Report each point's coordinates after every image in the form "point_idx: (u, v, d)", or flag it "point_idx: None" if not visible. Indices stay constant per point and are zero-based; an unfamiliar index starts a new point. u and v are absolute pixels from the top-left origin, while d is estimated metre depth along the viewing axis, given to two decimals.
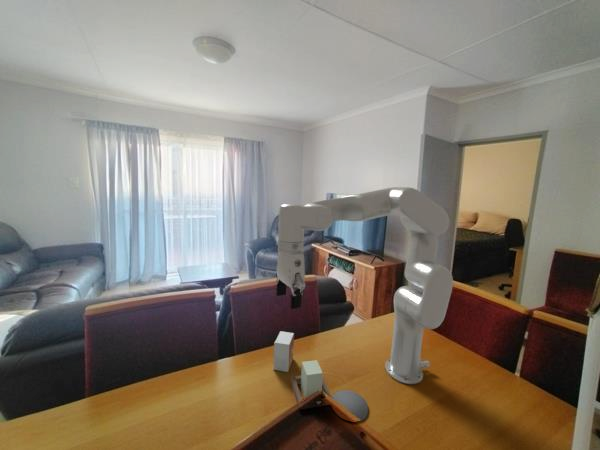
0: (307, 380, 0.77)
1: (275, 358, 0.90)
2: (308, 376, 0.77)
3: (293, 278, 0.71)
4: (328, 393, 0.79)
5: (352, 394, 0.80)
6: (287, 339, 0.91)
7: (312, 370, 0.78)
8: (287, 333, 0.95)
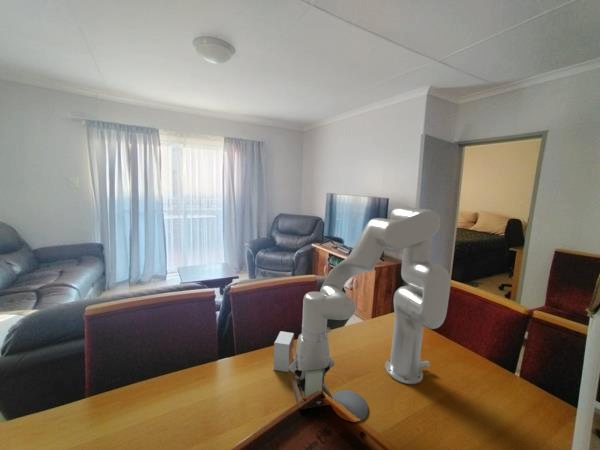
0: (307, 380, 0.77)
1: (275, 358, 0.90)
2: (308, 376, 0.77)
3: None
4: (328, 393, 0.79)
5: (352, 394, 0.80)
6: (287, 339, 0.91)
7: (312, 370, 0.78)
8: (287, 333, 0.95)
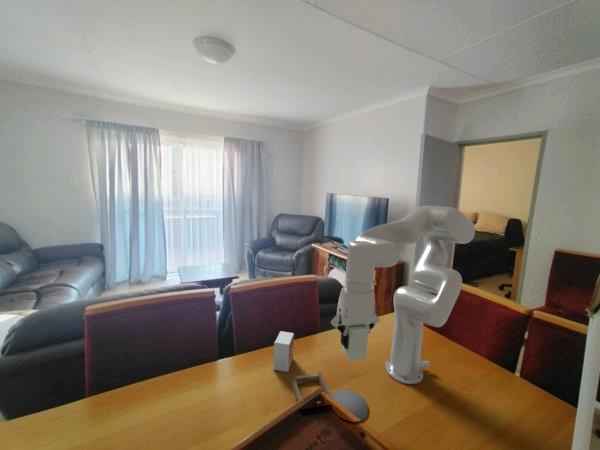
0: (352, 336, 0.70)
1: (275, 358, 0.90)
2: (353, 331, 0.70)
3: None
4: (328, 393, 0.79)
5: (352, 394, 0.80)
6: (287, 339, 0.91)
7: (356, 326, 0.72)
8: (287, 333, 0.95)
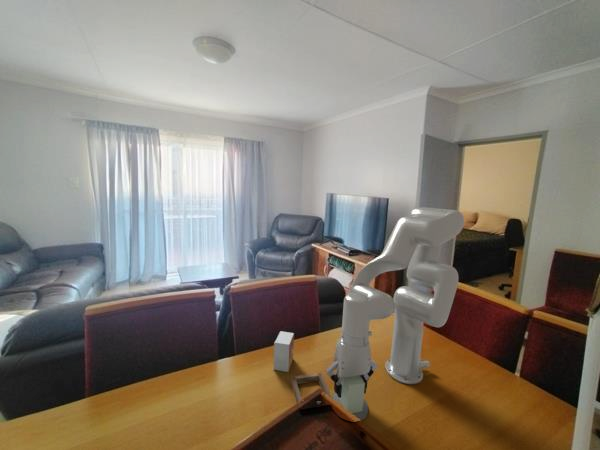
0: (349, 391, 0.72)
1: (275, 358, 0.90)
2: (350, 387, 0.72)
3: None
4: (328, 393, 0.79)
5: None
6: (287, 339, 0.91)
7: (353, 380, 0.74)
8: (287, 333, 0.95)
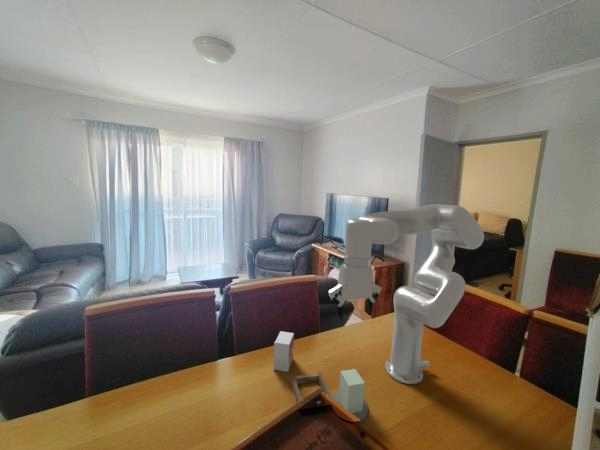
0: (349, 391, 0.72)
1: (275, 358, 0.90)
2: (350, 387, 0.72)
3: None
4: (328, 393, 0.79)
5: None
6: (287, 339, 0.91)
7: (353, 380, 0.74)
8: (287, 333, 0.95)
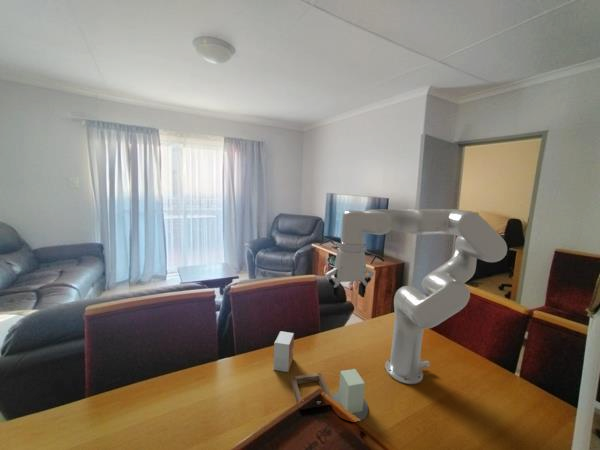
0: (349, 391, 0.72)
1: (275, 358, 0.90)
2: (350, 387, 0.72)
3: None
4: (328, 393, 0.79)
5: None
6: (287, 339, 0.91)
7: (353, 380, 0.74)
8: (287, 333, 0.95)
